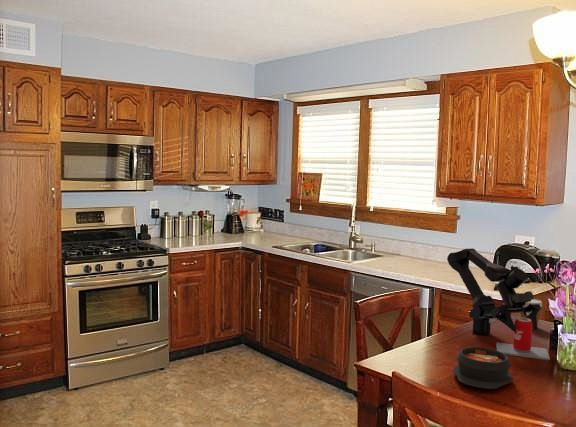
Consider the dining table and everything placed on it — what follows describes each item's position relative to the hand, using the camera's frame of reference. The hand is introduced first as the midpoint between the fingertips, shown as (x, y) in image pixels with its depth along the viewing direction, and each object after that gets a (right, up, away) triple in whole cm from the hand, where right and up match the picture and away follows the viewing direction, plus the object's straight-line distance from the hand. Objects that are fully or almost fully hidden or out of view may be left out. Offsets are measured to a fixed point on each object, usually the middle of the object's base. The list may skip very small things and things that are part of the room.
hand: (526, 330), depth 202 cm
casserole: (-26, -10, -26) cm, 38 cm away
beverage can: (-1, -8, +2) cm, 8 cm away
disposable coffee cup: (+17, -6, +35) cm, 39 cm away
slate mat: (-1, -8, +2) cm, 9 cm away
